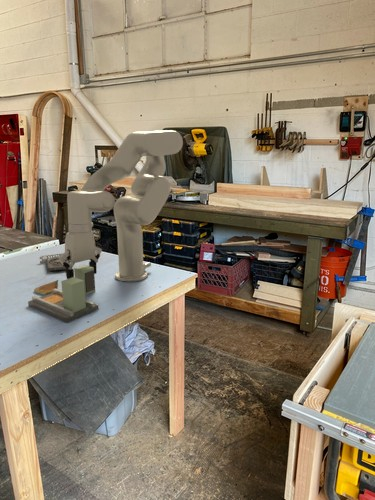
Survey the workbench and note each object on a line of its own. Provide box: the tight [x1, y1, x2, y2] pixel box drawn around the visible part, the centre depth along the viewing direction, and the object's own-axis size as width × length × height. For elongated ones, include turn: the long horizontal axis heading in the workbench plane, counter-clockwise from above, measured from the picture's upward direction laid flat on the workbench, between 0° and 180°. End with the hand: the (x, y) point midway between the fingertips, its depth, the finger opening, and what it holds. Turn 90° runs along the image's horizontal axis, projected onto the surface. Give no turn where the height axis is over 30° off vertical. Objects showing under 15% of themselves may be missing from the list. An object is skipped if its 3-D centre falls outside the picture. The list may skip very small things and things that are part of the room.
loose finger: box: [73, 264, 96, 296], centre depth 132 cm, size 4×6×9 cm
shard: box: [33, 279, 59, 296], centre depth 135 cm, size 11×8×2 cm
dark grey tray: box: [27, 288, 99, 324], centre depth 120 cm, size 12×20×3 cm, turn 54°
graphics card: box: [39, 252, 70, 272], centre depth 160 cm, size 17×4×12 cm
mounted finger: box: [60, 276, 86, 312], centre depth 116 cm, size 4×6×9 cm
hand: (82, 276), depth 131 cm, fingers open, 9 cm apart
